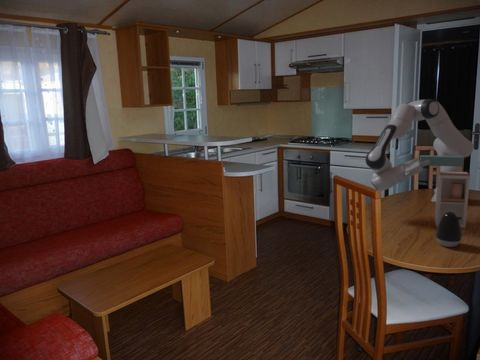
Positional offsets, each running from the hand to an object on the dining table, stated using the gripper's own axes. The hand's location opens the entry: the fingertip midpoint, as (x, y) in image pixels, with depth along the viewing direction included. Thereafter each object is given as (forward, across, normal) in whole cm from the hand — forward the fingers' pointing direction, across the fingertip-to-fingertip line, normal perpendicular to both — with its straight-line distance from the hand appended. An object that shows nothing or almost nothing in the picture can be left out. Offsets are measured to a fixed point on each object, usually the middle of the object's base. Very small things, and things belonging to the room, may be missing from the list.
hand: (429, 159), depth 205 cm
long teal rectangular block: (+3, 0, +5) cm, 6 cm away
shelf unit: (-7, 0, +34) cm, 35 cm away
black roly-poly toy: (-10, -30, +32) cm, 45 cm away
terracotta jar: (+2, 0, +24) cm, 24 cm away
